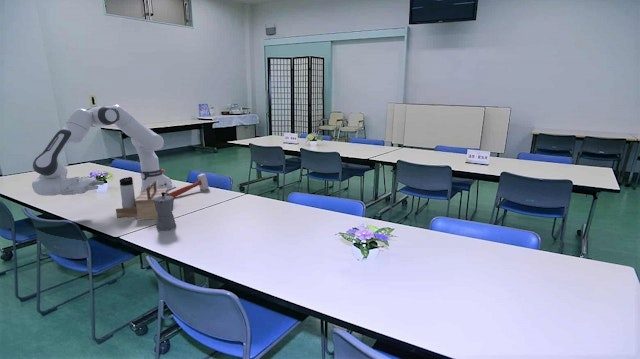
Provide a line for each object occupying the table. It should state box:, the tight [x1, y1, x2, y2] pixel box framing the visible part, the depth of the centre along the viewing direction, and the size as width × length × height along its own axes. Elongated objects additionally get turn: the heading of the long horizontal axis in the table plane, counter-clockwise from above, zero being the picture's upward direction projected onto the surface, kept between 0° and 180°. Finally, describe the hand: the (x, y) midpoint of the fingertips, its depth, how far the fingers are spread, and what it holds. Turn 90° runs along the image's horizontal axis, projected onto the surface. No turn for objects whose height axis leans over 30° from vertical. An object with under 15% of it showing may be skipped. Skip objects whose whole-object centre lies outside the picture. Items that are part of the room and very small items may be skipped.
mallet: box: [167, 173, 209, 198], centre depth 234 cm, size 11×4×30 cm
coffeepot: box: [153, 192, 177, 232], centre depth 175 cm, size 15×9×18 cm, turn 13°
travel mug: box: [119, 176, 136, 208], centre depth 192 cm, size 6×7×20 cm
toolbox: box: [115, 180, 169, 221], centre depth 195 cm, size 23×23×16 cm
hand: (100, 185), depth 188 cm, fingers open, 8 cm apart
